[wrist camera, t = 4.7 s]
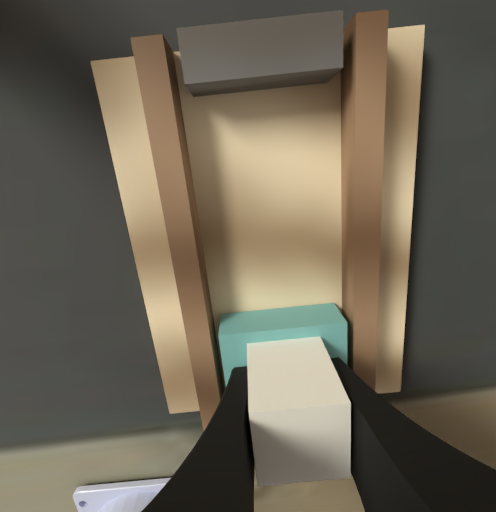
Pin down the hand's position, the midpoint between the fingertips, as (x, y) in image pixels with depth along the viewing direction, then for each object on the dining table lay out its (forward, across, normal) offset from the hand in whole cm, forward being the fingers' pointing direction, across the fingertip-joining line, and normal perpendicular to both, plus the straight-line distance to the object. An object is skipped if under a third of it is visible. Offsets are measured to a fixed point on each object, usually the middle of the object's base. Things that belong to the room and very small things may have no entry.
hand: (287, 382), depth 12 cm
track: (+3, 0, -5) cm, 6 cm away
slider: (+2, 0, 0) cm, 2 cm away
